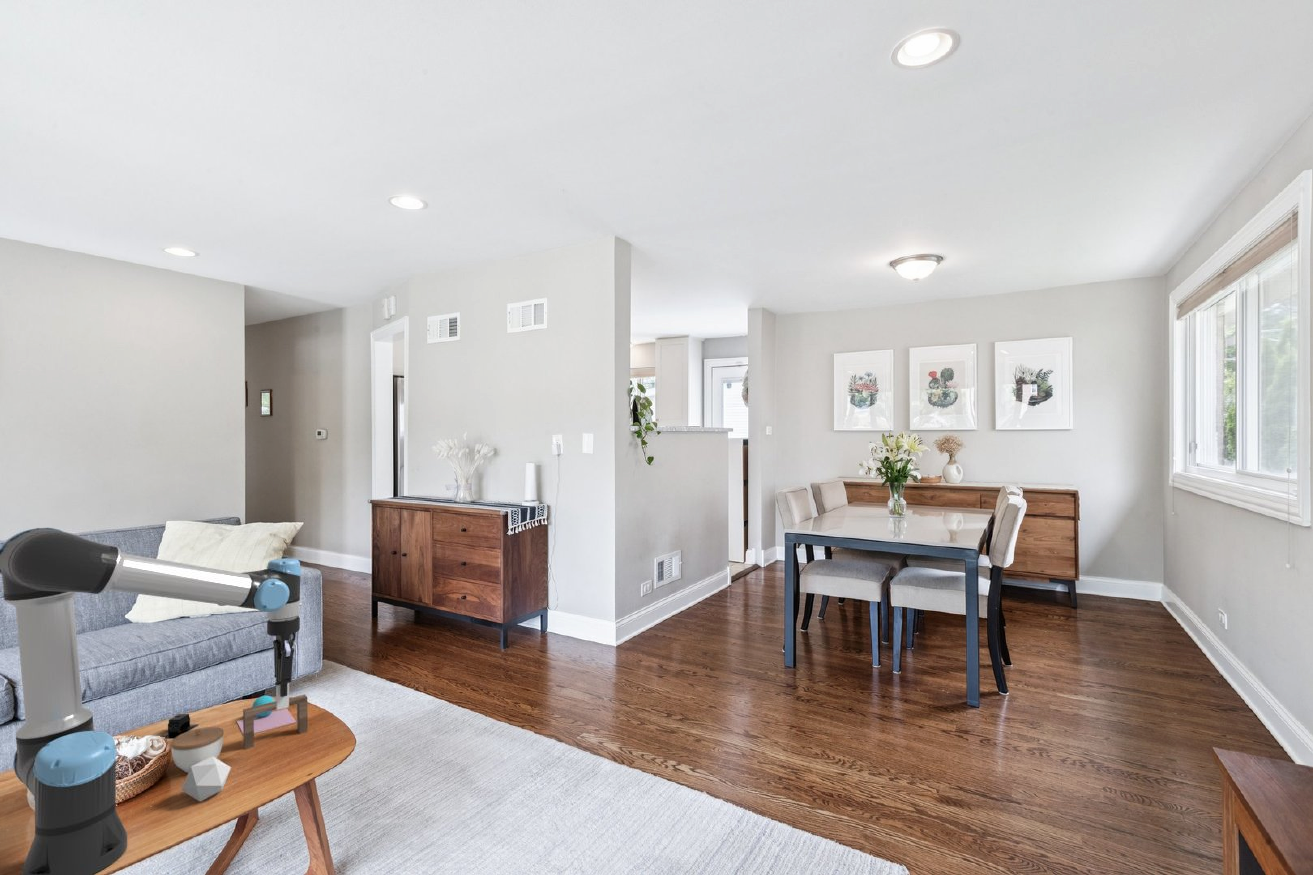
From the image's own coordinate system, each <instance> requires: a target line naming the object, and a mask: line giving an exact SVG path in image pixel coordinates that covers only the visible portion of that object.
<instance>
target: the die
mask: <svg viewBox="0 0 1313 875" xmlns="http://www.w3.org/2000/svg"><path fill="white" fill-rule="evenodd" d="M231 769H232V767H231V766H230V765H228V764H226V763H225V762H223V761H222V760H220V759H219V758H218V757H217V758H215V757H213V756H212V757H210V758H208V759H206V760H204V761H202V762H200V763H197V764H195V765H193V766H191V768H190V771H189V772H187V775H186V779H185V780H184V783H183V785H182V788H181V791H182V792H183V793H185V794H187V795H188V796H190V797H192V798H194V799H195V800H197V801H198V802H199V803H200V802H204V801H205V800H208V799H209V798H211V797H213V796H214V795H216V794H218V793H221V791H222V790H223V788H224V786H225V783H226V781H227V779H228V776H229V774H230V771H231Z"/></svg>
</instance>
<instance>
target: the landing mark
mask: <svg viewBox="0 0 1313 875" xmlns="http://www.w3.org/2000/svg"><path fill="white" fill-rule="evenodd" d="M236 723H237V725H238V727H239V729H240V732H241V733H242V734H243V719H239V720H236ZM296 723H297V719H295V717H293V715H292V714H291V712H290V711H289V710H288V707H287V708H283V709H278V710H273V712H272V713H271V714H269V715H268V716H265V717H258V716H256V715H254V735H255V734H259V733H262V732H265V731H270V730H273V729H277V728H278V729H279V728H280V727H284V726H288V725H292V724H296Z"/></svg>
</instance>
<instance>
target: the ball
mask: <svg viewBox="0 0 1313 875" xmlns="http://www.w3.org/2000/svg"><path fill="white" fill-rule="evenodd" d="M275 701H276V699H274V697H272V696H271V695H261V696H260V697H258V698H256V699H255V700H254V702H253V703H252V705H251V706H252V707H255V706H259V705H263V704H267V703H271V702H275ZM272 712H274V710H272V711H268V712H264V713H260V714H256V715H255V716H258V717H265V716H268V715H269V714H271V713H272Z"/></svg>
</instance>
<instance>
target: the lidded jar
mask: <svg viewBox="0 0 1313 875" xmlns="http://www.w3.org/2000/svg"><path fill="white" fill-rule="evenodd" d="M171 740H172V741H171V743H170V744H171V756H172V759H173V762H174V764H175V765H176V767H178V768H179V769H180V770H183V772H184V773H189V771H190V768H191V766H193V765H195V764H197V763H200V762H202V761H204V760H206V759H208V758H210V757H212V756H213V757H215V758H217V759H218V757H219V756H220V754H221V751H222V749H223V742H224V729H223V728H222V727H219V726H205V727H199V728H193V729H191V730H190V731H188V732H185V733H183V734H181V735H179V736H177V737H176V738H174V739H171Z"/></svg>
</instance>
